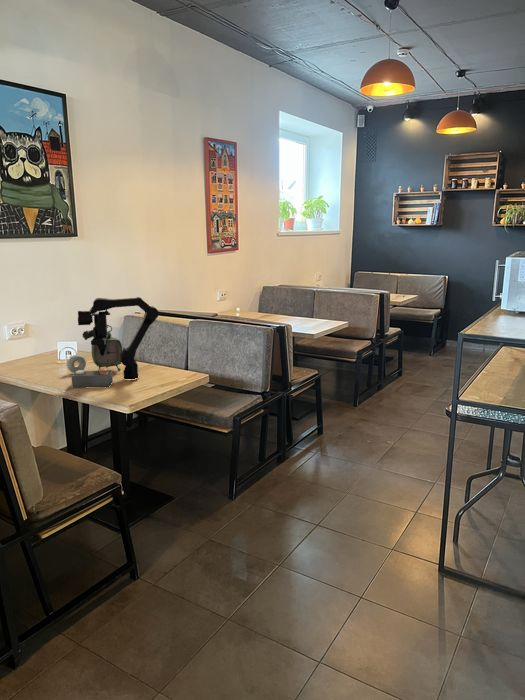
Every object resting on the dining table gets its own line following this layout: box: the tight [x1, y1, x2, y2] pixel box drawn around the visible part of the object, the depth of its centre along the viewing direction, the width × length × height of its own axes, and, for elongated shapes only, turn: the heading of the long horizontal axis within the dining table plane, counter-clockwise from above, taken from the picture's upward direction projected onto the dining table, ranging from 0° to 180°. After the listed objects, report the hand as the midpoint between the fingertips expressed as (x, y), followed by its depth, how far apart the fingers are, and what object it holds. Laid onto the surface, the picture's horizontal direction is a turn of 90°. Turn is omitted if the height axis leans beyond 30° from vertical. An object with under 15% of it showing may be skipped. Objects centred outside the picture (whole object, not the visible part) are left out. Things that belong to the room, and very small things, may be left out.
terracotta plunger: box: [98, 367, 109, 374], centre depth 246 cm, size 4×4×6 cm
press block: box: [71, 369, 114, 389], centre depth 246 cm, size 17×9×6 cm, turn 96°
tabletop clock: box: [91, 324, 123, 372], centre depth 270 cm, size 14×9×25 cm, turn 118°
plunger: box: [75, 369, 86, 375], centre depth 245 cm, size 4×4×6 cm
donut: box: [66, 354, 87, 374], centre depth 267 cm, size 10×3×10 cm, turn 138°
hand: (102, 355), depth 251 cm, fingers closed
